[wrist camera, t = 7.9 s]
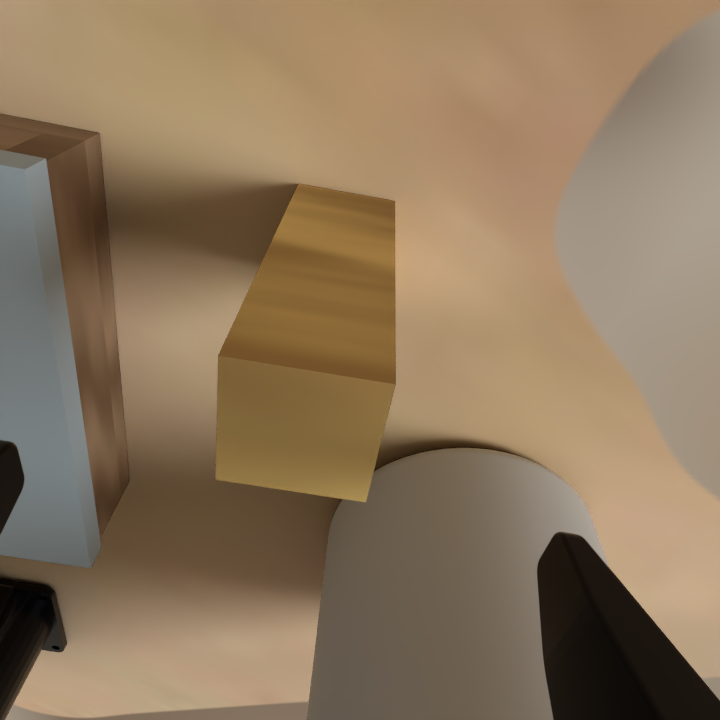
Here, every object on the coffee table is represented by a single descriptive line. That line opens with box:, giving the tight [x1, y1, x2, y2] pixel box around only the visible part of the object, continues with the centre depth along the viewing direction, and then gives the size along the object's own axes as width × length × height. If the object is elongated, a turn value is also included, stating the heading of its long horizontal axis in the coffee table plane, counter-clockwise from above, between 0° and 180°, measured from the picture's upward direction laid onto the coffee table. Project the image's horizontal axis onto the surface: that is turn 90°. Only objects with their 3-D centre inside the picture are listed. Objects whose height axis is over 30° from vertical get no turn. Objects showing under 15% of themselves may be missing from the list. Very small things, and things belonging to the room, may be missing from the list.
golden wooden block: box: [216, 184, 396, 502], centre depth 15 cm, size 3×3×10 cm
